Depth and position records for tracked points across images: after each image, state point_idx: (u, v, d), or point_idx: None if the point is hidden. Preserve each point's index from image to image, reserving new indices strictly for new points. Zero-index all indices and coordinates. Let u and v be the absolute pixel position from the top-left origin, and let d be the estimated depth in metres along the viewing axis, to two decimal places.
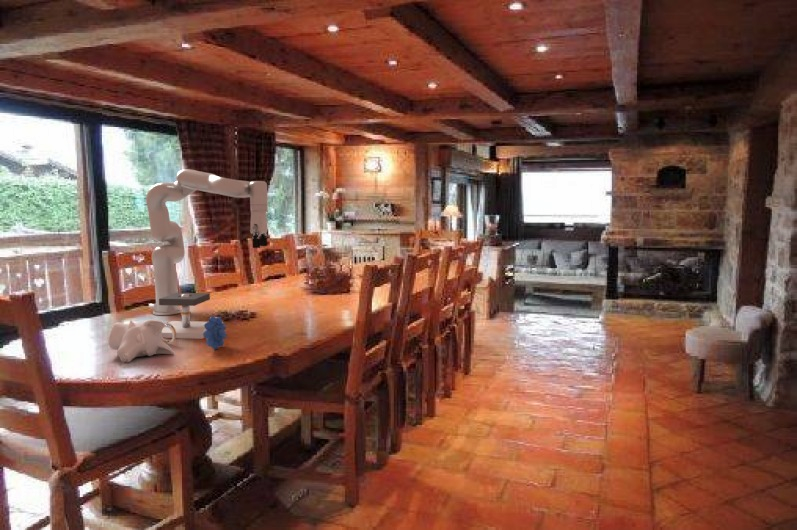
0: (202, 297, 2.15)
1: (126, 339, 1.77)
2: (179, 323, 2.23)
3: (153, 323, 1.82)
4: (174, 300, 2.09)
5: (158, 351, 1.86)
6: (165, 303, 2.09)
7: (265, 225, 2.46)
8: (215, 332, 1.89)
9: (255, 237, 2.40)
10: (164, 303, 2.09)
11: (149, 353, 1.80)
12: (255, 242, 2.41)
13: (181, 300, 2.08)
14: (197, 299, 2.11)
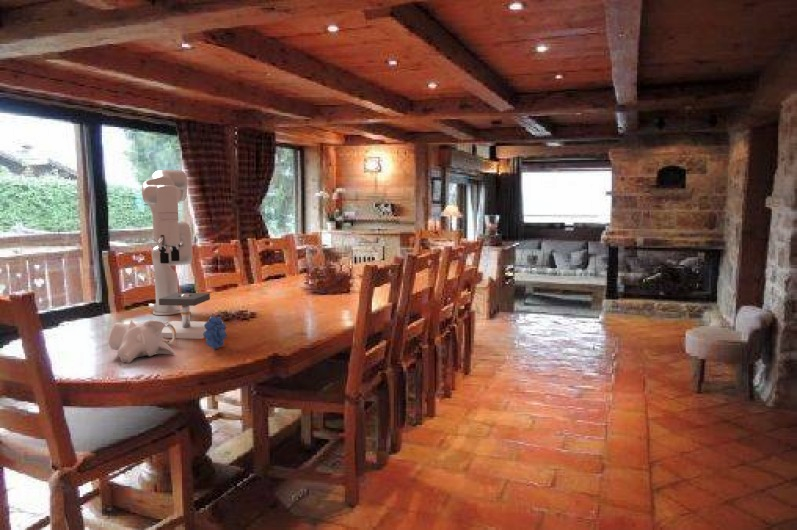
0: (202, 297, 2.15)
1: (126, 340, 1.76)
2: (179, 323, 2.23)
3: (153, 323, 1.81)
4: (174, 300, 2.09)
5: (158, 351, 1.85)
6: (165, 303, 2.09)
7: (176, 236, 2.14)
8: (215, 332, 1.89)
9: (162, 251, 2.08)
10: (164, 303, 2.09)
11: (149, 353, 1.79)
12: (163, 257, 2.09)
13: (181, 300, 2.08)
14: (197, 299, 2.11)
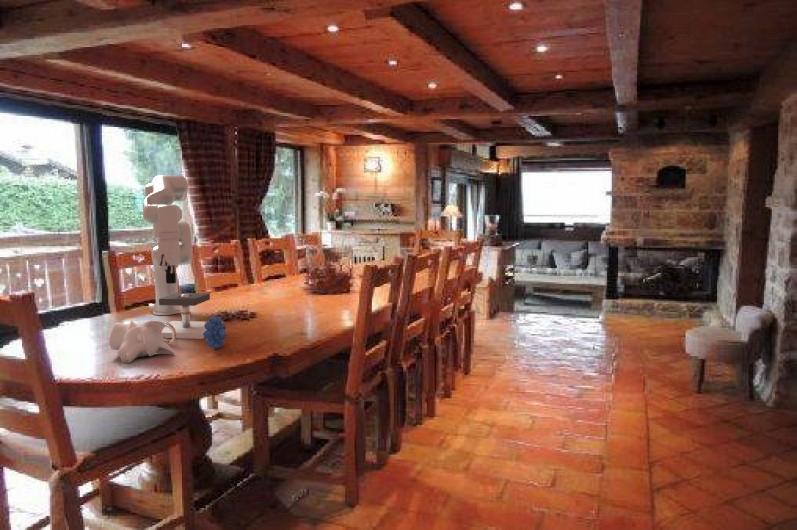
0: (202, 297, 2.15)
1: (126, 340, 1.76)
2: (179, 323, 2.23)
3: (154, 323, 1.81)
4: (174, 300, 2.09)
5: (159, 351, 1.85)
6: (165, 303, 2.09)
7: (177, 255, 2.15)
8: (215, 332, 1.89)
9: (168, 271, 2.12)
10: (164, 303, 2.09)
11: (150, 353, 1.79)
12: (168, 277, 2.13)
13: (181, 300, 2.08)
14: (197, 299, 2.11)
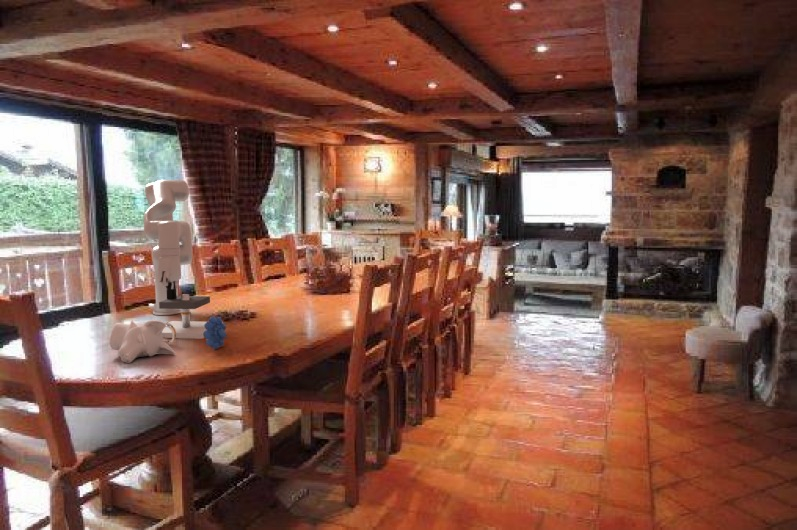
0: (202, 300, 2.15)
1: (126, 340, 1.76)
2: (179, 323, 2.23)
3: (154, 323, 1.81)
4: (174, 303, 2.09)
5: (159, 351, 1.85)
6: (165, 306, 2.09)
7: (177, 271, 2.16)
8: (215, 332, 1.89)
9: (169, 288, 2.13)
10: (164, 306, 2.09)
11: (150, 353, 1.79)
12: (169, 293, 2.14)
13: (181, 303, 2.09)
14: (197, 302, 2.11)
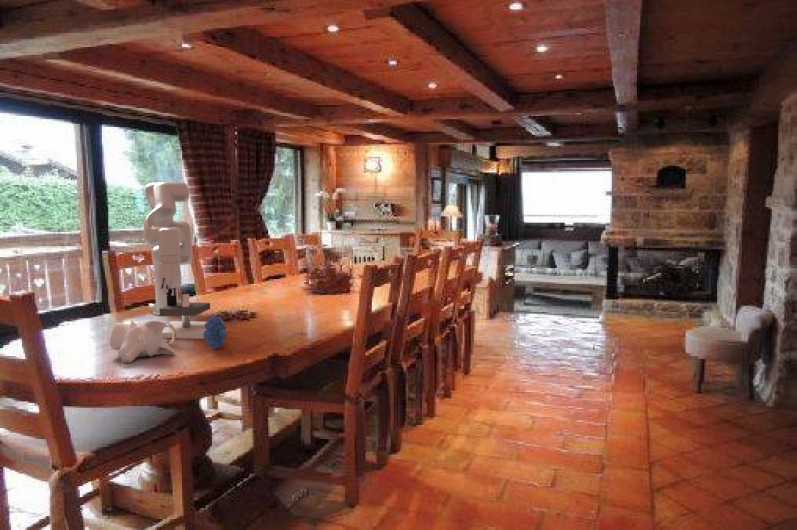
0: (202, 307, 2.16)
1: (127, 340, 1.76)
2: (179, 323, 2.23)
3: (154, 323, 1.81)
4: (174, 310, 2.09)
5: (159, 351, 1.85)
6: (165, 313, 2.10)
7: (177, 278, 2.16)
8: (215, 332, 1.89)
9: (169, 294, 2.14)
10: (164, 313, 2.10)
11: (150, 353, 1.79)
12: (169, 300, 2.15)
13: (181, 310, 2.09)
14: (197, 309, 2.11)
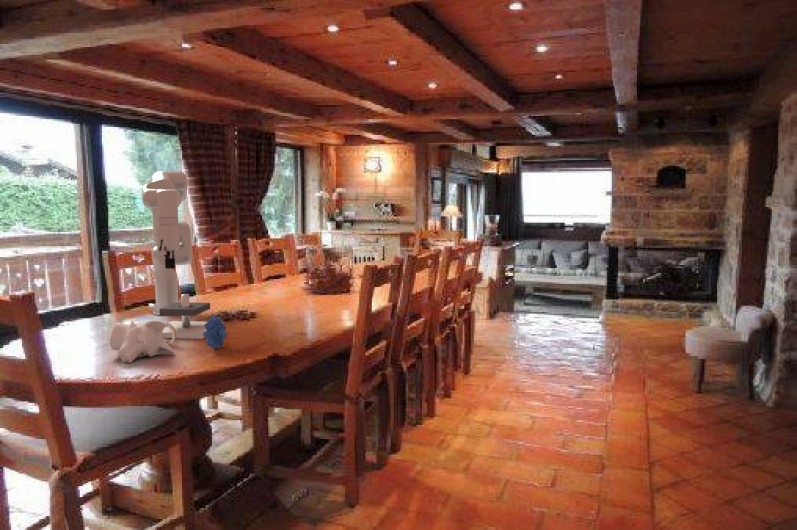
0: (202, 307, 2.16)
1: (127, 340, 1.76)
2: (179, 323, 2.23)
3: (154, 323, 1.81)
4: (174, 310, 2.09)
5: (159, 352, 1.85)
6: (165, 313, 2.10)
7: (176, 240, 2.14)
8: (215, 332, 1.89)
9: (167, 257, 2.12)
10: (164, 313, 2.10)
11: (150, 354, 1.79)
12: (168, 262, 2.13)
13: (181, 310, 2.09)
14: (197, 309, 2.11)
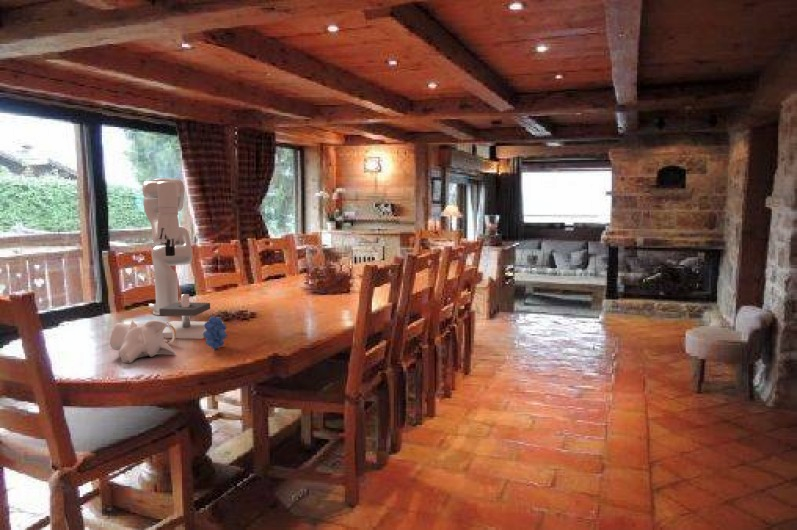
0: (202, 307, 2.16)
1: (127, 340, 1.76)
2: (179, 323, 2.23)
3: (155, 324, 1.81)
4: (174, 310, 2.09)
5: (159, 352, 1.85)
6: (165, 313, 2.10)
7: (175, 229, 2.27)
8: (215, 332, 1.89)
9: (167, 244, 2.25)
10: (164, 313, 2.10)
11: (150, 354, 1.79)
12: (168, 250, 2.26)
13: (181, 310, 2.09)
14: (197, 309, 2.11)
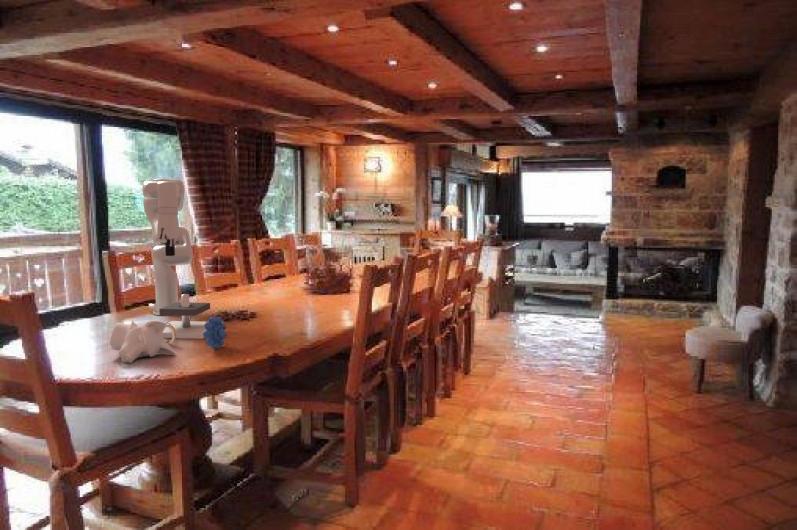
0: (202, 307, 2.16)
1: (127, 340, 1.76)
2: (179, 323, 2.23)
3: (155, 324, 1.81)
4: (174, 310, 2.09)
5: (160, 352, 1.85)
6: (165, 313, 2.10)
7: (175, 229, 2.27)
8: (215, 332, 1.89)
9: (167, 244, 2.25)
10: (164, 313, 2.10)
11: (151, 354, 1.79)
12: (168, 250, 2.26)
13: (181, 310, 2.09)
14: (197, 309, 2.11)
